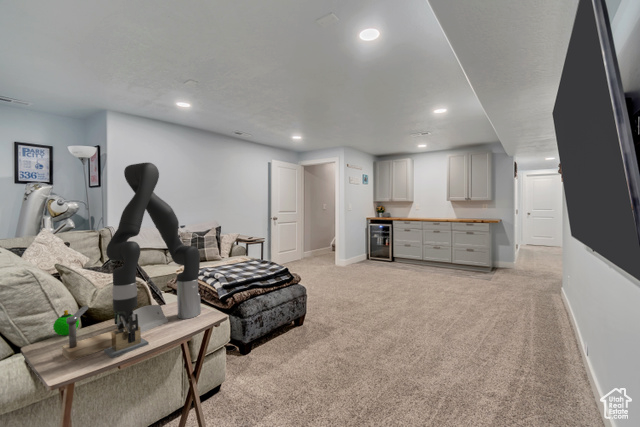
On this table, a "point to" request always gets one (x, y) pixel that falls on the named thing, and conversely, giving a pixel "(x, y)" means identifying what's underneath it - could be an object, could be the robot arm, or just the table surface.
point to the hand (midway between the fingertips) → (126, 339)
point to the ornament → (63, 324)
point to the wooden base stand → (85, 344)
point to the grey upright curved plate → (150, 317)
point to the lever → (76, 315)
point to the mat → (113, 353)
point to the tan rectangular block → (124, 339)
